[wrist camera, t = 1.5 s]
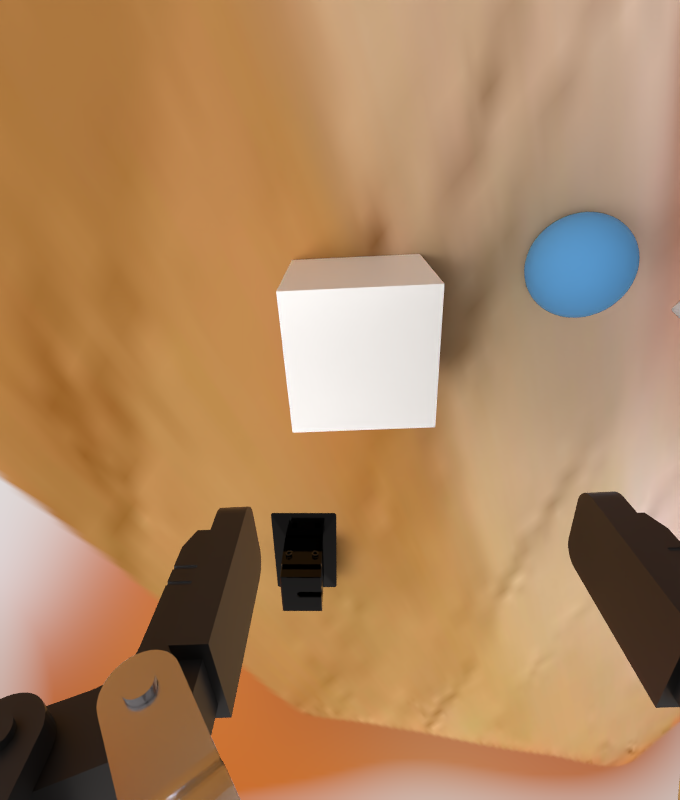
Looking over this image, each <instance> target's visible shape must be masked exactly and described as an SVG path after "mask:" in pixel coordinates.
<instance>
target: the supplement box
mask: <svg viewBox="0 0 680 800" xmlns="http://www.w3.org/2000/svg"><path fill="white" fill-rule="evenodd" d="M672 312H674V313H675V314H676V315H677V316H678V317H679V318H680V301H679V302H678V303H677V304H676V305H675V306H674V307H673V308H672Z"/></svg>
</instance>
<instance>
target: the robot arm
mask: <svg viewBox="0 0 680 800" xmlns="http://www.w3.org/2000/svg"><path fill="white" fill-rule="evenodd" d="M568 548H569V555H570V559H571V562H572V564H573V566H574V568H575V570H576V571H577V573H578V575H579V577H580V578H581V580H582V582H583V583H584V585H585V587H586V589H587V590H588V592H589V594H590V595H591V597H592V599H593V601H594V602H595V604H596V606H597V607H598V609H599V611H600V613H601V614H602V616H603V618H604V620H605V621H606V623H607V625H608V626H609V628H610V630H611V632H612V633H613V635H614V637H615V638H616V640H617V642H618V644H619V645H620V647H621V649H622V650H623V652H624V654H625V656H626V657H627V659H628V661H629V662H630V664H631V666H632V668H633V669H634V671H635V673H636V674H637V676H638V678H639V680H640V681H641V683H642V685H643V686H644V688H645V690H646V692H647V693H648V695H649V697H650V699H651V700H652V702H653V704H654V705H655V707H656V708H660V707H680V541H679V540H678V539H677V538H676V537H675V536H674V534H673V533H672V532H671V531H670V530H669V529H668V528H667V527H665V526H664V525H662V524H661V523H659V522H658V521H656V520H655V519H653V518H652V517H650V516H649V515H647V514H646V513H637V512H636V511H635V510H634V509H633V507H632V506H631V505H630V504H629V503H628V502H627V500H626V499H625V498H624V497H623V496H622V495H621V494H620V493H618V492H597V493H583V494H581V495H580V497H579V499H578V502H577V506H576V510H575V515H574V519H573V523H572V527H571V531H570V536H569V541H568ZM260 572H261V553H260V547H259V542H258V537H257V532H256V527H255V522H254V517H253V512H252V509H251V507H231V508H220V509H219V510H218V511H217V514H216V516H215V519H214V522H213V525H212V527H211V530H198V531H197V532H196V533H195V534H194V535H193V536H192V537H191V538H190V539H189V540H188V541H187V542H186V544H185V545H184V546H183V547H182V549H181V551H180V553H179V556H178V558H177V561H176V563H175V565H174V570H172V572H171V575H170V577H169V579H168V585H167V586H165V589H164V591H163V593H162V596H161V598H160V600H159V603H158V605H157V608H156V610H155V612H154V615H153V617H152V619H151V622H150V624H149V626H148V629H147V631H146V633H145V636H144V638H143V640H142V643H141V645H140V647H139V649H138V652H137V653H136V655H134V656H133V657H130V658H129V659H127V660H126V661H124V662H123V663H122V664H121V665H119V666H118V667H117V668H116V669H115V670H114V671H113V672H112V673H111V674H110V676H109V677H108V678H107V680H106V681H105V683H104V685H102V686H100V687H98V688H96V689H93V690H91V691H88V692H85V693H82V694H80V695H77V696H74V697H71V698H69V699H65V700H63V701H60V702H57V703H54V704H51V705H48V706H46V705H45V704H44V703H43V701H42V700H41V699H40V698H39V697H38V696H37V695H35V694H32V693H18V694H13V695H10V696H6V697H4V698H2V699H0V800H240V798H239V796H238V793H237V791H236V789H235V787H234V784H233V782H232V780H231V777H230V775H229V773H228V771H227V769H226V767H225V764H224V763H223V761H222V760H221V758H220V756H219V754H218V751H217V749H216V747H215V745H214V742H213V740H212V738H211V733H212V729H213V725H214V721H215V718H224V717H225V718H226V717H231V716H232V712H233V707H234V702H235V697H236V692H237V687H238V682H239V677H240V672H241V667H242V663H243V658H244V653H245V648H246V643H247V638H248V633H249V628H250V623H251V618H252V613H253V608H254V604H255V599H256V594H257V589H258V584H259V579H260ZM678 800H680V781H679V794H678Z"/></svg>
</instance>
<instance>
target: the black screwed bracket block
mask: <svg viewBox="0 0 680 800" xmlns="http://www.w3.org/2000/svg"><path fill="white" fill-rule="evenodd" d="M271 519H272V529H273V539H274V549H275V559H276V569H277V579H278V586H279V587H281V594H282V605H283V611H322V602H323V587H336V514H335V513H272V514H271Z"/></svg>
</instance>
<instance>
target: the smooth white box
mask: <svg viewBox="0 0 680 800" xmlns="http://www.w3.org/2000/svg"><path fill="white" fill-rule="evenodd" d="M276 293H277V302H278V310H279V319H280V328H281V336H282V345H283V353H284V362H285V371H286V379H287V388H288V396H289V405H290V413H291V422H292V431H293V432H319V431H345V430H372V429H398V428H425V427H435V421H436V406H437V390H438V375H439V360H440V344H441V329H442V313H443V298H444V283H443V281H442V280H441V279H440V278H439V277H438V275H437V274H436V273H435V272H434V270H433V269H432V268H431V267H430V266H429V264H428V263H427V262H426V261H425V260H424V258H423V257H422V256H421V255H420V254H407V255H386V256H365V257H344V258H323V259H302V260H292V261H291V263H290V265H289V267H288V269H287V271H286V273H285V275H284V277H283V279H282V281H281V283H280V285H279V287H278V289H277V291H276Z"/></svg>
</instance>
